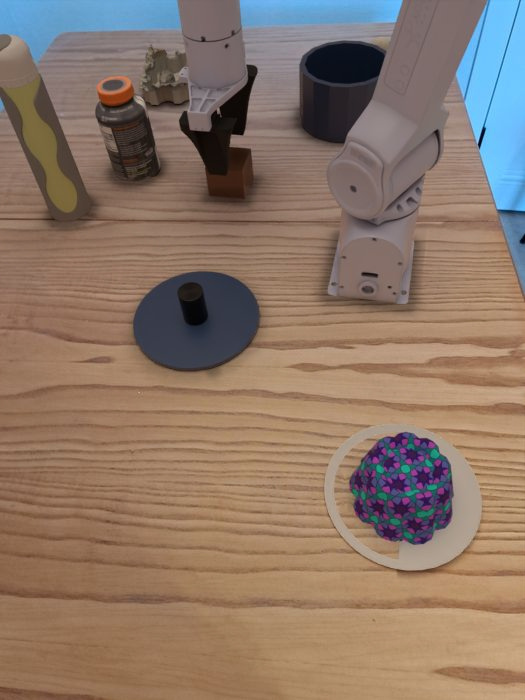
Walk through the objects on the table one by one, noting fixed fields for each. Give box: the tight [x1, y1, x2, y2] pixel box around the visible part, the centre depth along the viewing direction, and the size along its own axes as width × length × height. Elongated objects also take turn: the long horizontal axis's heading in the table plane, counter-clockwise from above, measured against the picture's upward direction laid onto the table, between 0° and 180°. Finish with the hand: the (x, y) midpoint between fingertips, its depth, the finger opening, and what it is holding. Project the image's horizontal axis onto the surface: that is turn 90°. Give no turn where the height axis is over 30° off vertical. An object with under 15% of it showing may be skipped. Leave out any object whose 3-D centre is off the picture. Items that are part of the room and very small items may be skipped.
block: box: [204, 146, 255, 200], centre depth 68 cm, size 4×4×4 cm
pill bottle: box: [94, 75, 161, 182], centre depth 68 cm, size 6×6×11 cm
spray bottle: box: [0, 33, 92, 223], centre depth 61 cm, size 5×5×20 cm
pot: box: [298, 39, 387, 144], centre depth 74 cm, size 11×11×8 cm
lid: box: [132, 270, 260, 372], centre depth 55 cm, size 12×12×5 cm
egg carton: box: [139, 44, 190, 106], centre depth 83 cm, size 11×8×4 cm
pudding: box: [323, 422, 483, 571], centre depth 43 cm, size 12×12×5 cm
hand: (227, 152), depth 65 cm, fingers open, 7 cm apart
